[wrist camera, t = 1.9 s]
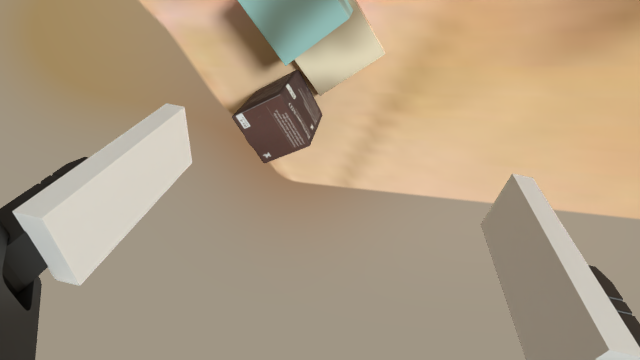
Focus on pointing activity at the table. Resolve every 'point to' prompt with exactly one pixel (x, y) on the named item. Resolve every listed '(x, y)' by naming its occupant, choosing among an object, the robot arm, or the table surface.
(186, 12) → the table surface
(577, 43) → the table surface
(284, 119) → the box
